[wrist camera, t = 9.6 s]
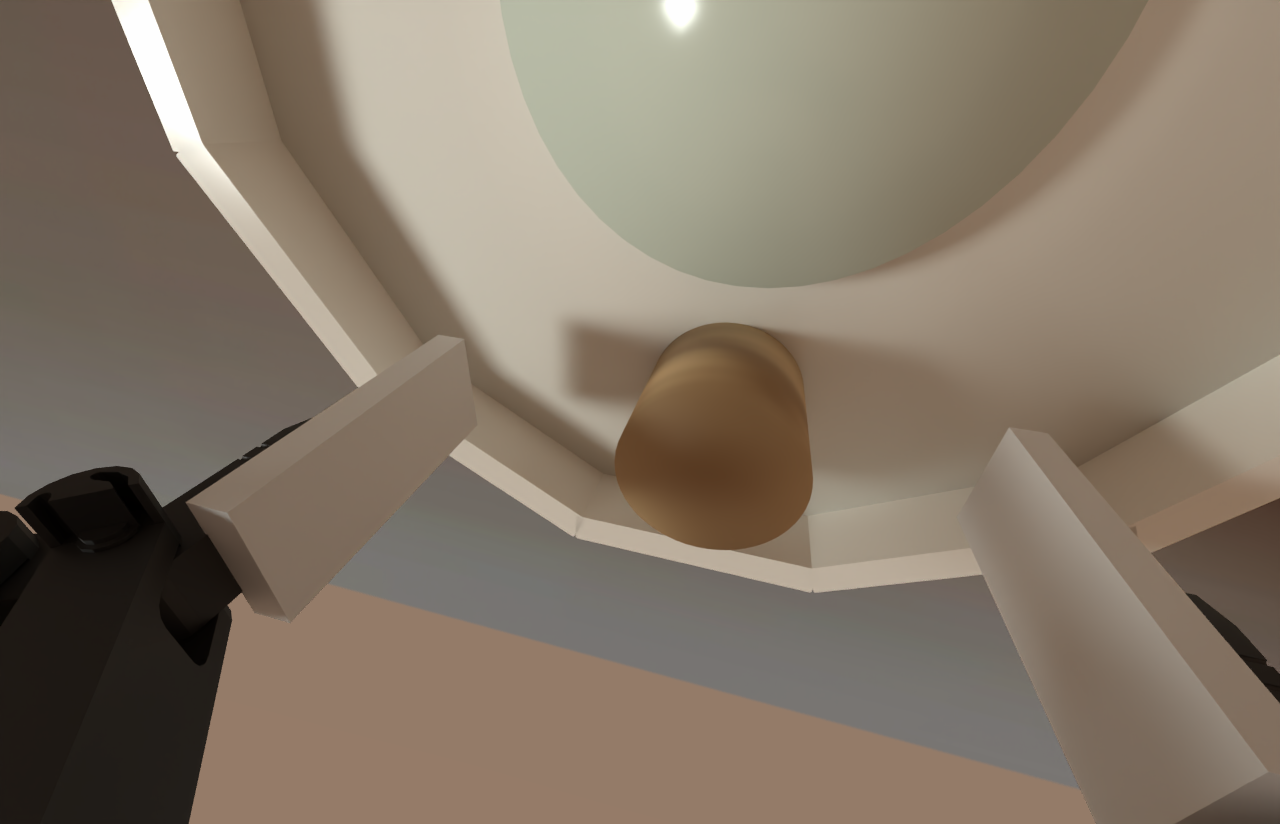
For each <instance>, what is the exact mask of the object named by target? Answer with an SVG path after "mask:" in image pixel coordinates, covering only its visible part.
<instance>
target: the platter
mask: <svg viewBox="0 0 1280 824" xmlns="http://www.w3.org/2000/svg"><path fill="white" fill-rule="evenodd" d="M112 3H113V5H114V8H115V10H116V12H117V15H118V17H119V20H120V22H121V25H122V27H123V30H124V32H125V34H126V37H127V39H128V42H129V44H130V47H131V49H132V52H133V54H134V56H135V59H136V61H137V64H138V66H139V69H140V71H141V74H142V76H143V78H144V81H145V83H146V86H147V88H148V91H149V93H150V96H151V98H152V100H153V103H154V105H155V108H156V110H157V113H158V115H159V117H160V120H161V122H162V125H163V127H164V130H165V132H166V135H167V137H168V139H169V142H170V144H171V147H172V149H173V151H178V152H179V153H178V154H177V155H176V156H177V158H178V159H179V160H180V161H181V163H182V164H183V165H184V166H185V168H186V169H187V170H188V172H189V173H190V174H191V175H192V177H193V178H194V179H195V180H196V182H197V183H198V184H199V186H200V187H201V188H202V189H203V191H204V192H205V193H206V194H207V196H208V197H209V198H210V200H211V201H212V202H213V203H214V205H215V206H216V207H217V208H218V210H219V211H220V212H221V214H222V215H223V216H224V217H225V219H226V220H227V221H228V222H229V224H230V225H231V226H232V228H233V229H234V230H235V231H236V233H237V234H238V235H239V236H240V238H241V239H242V240H243V242H244V243H245V244H246V245H247V247H248V248H249V249H250V250H251V252H252V253H253V254H254V256H255V257H256V258H257V259H258V261H259V262H260V263H261V264H262V266H263V267H264V268H265V270H266V271H267V272H268V273H269V275H270V276H271V277H272V278H273V280H274V281H275V282H276V284H277V285H278V286H279V287H280V289H281V290H282V291H283V292H284V294H285V295H286V296H287V298H288V299H289V300H290V301H291V303H292V304H293V305H294V306H295V308H296V309H297V310H298V312H299V313H300V314H301V315H302V317H303V318H304V319H305V320H306V322H307V323H308V324H309V326H310V327H311V328H312V329H313V331H314V332H315V333H316V334H317V336H318V337H319V338H320V340H321V341H322V342H323V343H324V345H325V346H326V347H327V348H328V350H329V351H330V352H331V354H332V355H333V356H334V357H335V359H336V360H337V361H338V362H339V364H340V365H341V366H342V368H343V369H344V370H345V371H346V373H347V374H348V375H349V376H350V378H351V379H352V380H353V382H354V383H355V384H356V385H357V387H358V388H359V387H360V386H362V385H363V384H365V383H366V382H368V381H369V380H371V379H372V378H374V377H375V376H377V375H378V374H380V373H381V372H383V371H384V370H386V369H387V368H389V367H390V366H392V365H393V364H395V363H396V362H398V361H399V360H401V359H403V358H404V357H406V356H407V355H409V354H410V353H412V352H413V351H415V350H416V349H418V348H419V347H421V346H422V345H424V344H425V343H427V342H428V341H430V340H431V339H433V338H434V337H436V336H437V335H442V336H448V337H455V338H461V339H464V340H465V347H466V353H467V360H468V366H469V373H470V379H471V386H472V392H473V399H474V405H475V411H476V418H477V424H478V425H477V426H476V427H475V428H474V429H473V430H472V431H471V432H470V433H469V435H468V436H467V437H466V438H465V439H464V440H463V441H462V442H461V443H460V444H459V445H458V446H457V447H456V448H455V449H454V450H453V451H452V453H451V454H450V455H449V456H451V457H452V458H454V459H455V460H457V461H458V462H460V463H462V464H463V465H465V466H466V467H468V468H469V469H471V470H472V471H474V472H475V473H477V474H478V475H480V476H481V477H483V478H484V479H486V480H487V481H489V482H490V483H492V484H494V485H495V486H497V487H498V488H500V489H501V490H503V491H504V492H506V493H507V494H509V495H510V496H512V497H513V498H515V499H516V500H518V501H519V502H521V503H523V504H524V505H526V506H527V507H529V508H530V509H532V510H533V511H535V512H536V513H538V514H539V515H541V516H542V517H544V518H545V519H547V520H548V521H550V522H552V523H553V524H555V525H556V526H558V527H559V528H561V529H562V530H564V531H565V532H567V533H568V534H570V535H571V536H574V535H575V534H576V538H579V539H583V540H587V541H591V542H596V543H600V544H604V545H609V546H613V547H617V548H621V549H626V550H630V551H634V552H639V553H643V554H647V555H652V556H656V557H660V558H664V559H669V560H673V561H677V562H682V563H686V564H690V565H694V566H699V567H703V568H707V569H712V570H716V571H720V572H724V573H729V574H733V575H737V576H742V577H746V578H750V579H755V580H759V581H763V582H767V583H772V584H776V585H780V586H785V587H789V588H793V589H797V590H802V591H806V592H810V593H811V591H812V589H813V591H814V593H817V592H827V591H836V590H845V589H854V588H863V587H872V586H882V585H891V584H900V583H909V582H918V581H927V580H936V579H946V578H955V577H964V576H973V575H982V572H981V570H980V567H979V565H978V563H977V561H976V559H975V556H974V554H973V552H972V550H971V548H970V545H969V543H968V541H967V539H966V537H965V534H964V532H963V530H962V528H961V526H960V523H959V521H958V519H957V516H958V514H959V513H960V511H961V509H962V507H963V506H964V504H965V502H966V500H967V499H968V497H969V495H970V494H971V492H972V490H973V488H974V487H975V485H976V483H977V482H978V480H979V478H980V476H981V475H982V473H983V471H984V470H985V468H986V466H987V464H988V463H989V461H990V459H991V458H992V456H993V454H994V452H995V451H996V449H997V447H998V445H999V444H1000V442H1001V440H1002V439H1003V437H1004V435H1005V433H1006V432H1007V430H1008V428H1009V427H1012V428H1018V429H1024V430H1031V431H1037V432H1043V433H1048V434H1049V435H1050V436H1051V437H1052V439H1053V440H1054V441H1055V442H1056V443H1057V444H1058V446H1059V447H1060V448H1061V449H1062V450H1063V451H1064V453H1065V454H1066V455H1067V456H1068V457H1069V458H1070V460H1071V461H1072V462H1073V463H1074V464H1075V465H1076V467H1077V468H1078V469H1079V470H1080V471H1081V472H1082V474H1083V475H1084V476H1085V477H1086V478H1087V479H1088V481H1089V482H1090V483H1091V484H1092V485H1093V486H1094V488H1095V489H1096V490H1097V491H1098V492H1099V493H1100V495H1101V496H1102V497H1103V498H1104V499H1105V500H1106V501H1107V503H1108V504H1109V505H1110V506H1111V507H1112V508H1113V510H1114V511H1115V512H1116V513H1117V514H1118V515H1119V517H1120V518H1121V519H1122V520H1123V521H1124V522H1125V524H1126V525H1127V526H1128V527H1129V528H1130V529H1131V531H1132V532H1133V533H1134V534H1135V535H1136V536H1137V538H1138V539H1139V540H1140V541H1141V542H1142V543H1143V545H1144V546H1145V547H1146V548H1147V549H1148V550H1149V552H1150V553H1152V552H1154V551H1157V550H1159V549H1161V548H1164V547H1166V546H1168V545H1171V544H1173V543H1175V542H1178V541H1180V540H1182V539H1185V538H1187V537H1190V536H1192V535H1194V534H1197V533H1199V532H1201V531H1204V530H1206V529H1208V528H1211V527H1213V526H1215V525H1218V524H1220V523H1222V522H1225V521H1227V520H1229V519H1232V518H1234V517H1236V516H1239V515H1241V514H1243V513H1246V512H1248V511H1250V510H1253V509H1255V508H1258V507H1260V506H1262V505H1265V504H1267V503H1269V502H1272V501H1274V500H1276V499H1279V498H1280V0H112ZM724 322H728V323H739V324H743V325H748V326H751V327H754V328H757V329H759V330H762V331H764V332H766V333H768V334H769V335H771V336H772V337H774V338H775V339H777V340H778V341H779V342H780V343H781V344H783V345H784V346H785V347H786V348H787V350H788V351H789V352H790V353H791V354H792V356H793V357H794V359H795V361H796V362H797V364H798V366H799V369H800V371H801V375H802V378H803V384H804V393H805V403H806V413H807V423H808V432H809V442H810V452H811V462H812V472H813V489H812V494H811V498H810V501H809V503H808V505H807V508H806V510H805V511H804V513H803V514H802V516H801V517H800V519H799V520H798V521H797V522H796V523H795V524H794V525H793V526H792V527H791V528H790V529H789V530H787V531H786V532H785V533H783V534H782V535H780V536H778V537H777V538H775V539H773V540H771V541H769V542H766V543H764V544H761V545H758V546H754V547H750V548H745V549H737V550H713V549H705V548H699V547H695V546H691V545H687V544H684V543H682V542H679V541H676V540H674V539H672V538H670V537H668V536H666V535H664V534H662V533H660V532H659V531H657V530H655V529H654V528H653V527H651V526H650V525H649V524H647V523H646V522H645V521H644V520H643V519H642V518H640V517H639V516H638V515H637V514H636V512H635V511H634V510H633V509H632V508H631V507H630V505H629V504H628V502H627V501H626V499H625V498H624V496H623V494H622V492H621V490H620V487H619V485H618V482H617V478H616V473H615V452H616V448H617V444H618V441H619V439H620V437H621V435H622V433H623V431H624V428H625V426H626V424H627V422H628V420H629V418H630V416H631V414H632V412H633V410H634V408H635V406H636V404H637V402H638V400H639V398H640V396H641V394H642V392H643V390H644V388H645V386H646V384H647V382H648V380H649V378H650V376H651V373H652V371H653V369H654V367H655V365H656V363H657V361H658V359H659V357H660V356H661V354H662V353H663V351H664V350H665V349H666V348H667V347H668V345H669V344H670V343H671V342H673V341H674V340H675V339H676V338H677V337H679V336H680V335H682V334H684V333H685V332H687V331H689V330H691V329H694V328H696V327H699V326H703V325H706V324H712V323H724Z"/></svg>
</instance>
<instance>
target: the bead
mask: <svg viewBox="0 0 1280 824" xmlns="http://www.w3.org/2000/svg"><path fill="white" fill-rule="evenodd" d="M615 473H616V478H617V482H618V485H619V487H620V490H621V492H622V494H623V496H624V498H625V499H626V501H627V502H628V504H629V505H630V507H631V508H632V509H633V510H634V511H635V512H636V514H637V515H638V516H639V517H640V518H642V519H643V520H644V521H645V522H646V523H647V524H649V525H650V526H651V527H653V528H654V529H655V530H657V531H659V532H660V533H662V534H664V535H666V536H668V537H670V538H672V539H674V540H676V541H679V542H682V543H684V544H687V545H691V546H695V547H699V548H705V549H713V550H737V549H745V548H750V547H754V546H758V545H761V544H764V543H766V542H769V541H771V540H773V539H775V538H777V537H778V536H780V535H782V534H783V533H785V532H786V531H787V530H789V529H790V528H791V527H792V526H793V525H794V524H795V523H796V522H797V521H798V520H799V519H800V517H801V516H802V514H803V513H804V511H805V510H806V508H807V505H808V503H809V501H810V498H811V494H812V489H813V472H812V462H811V452H810V442H809V432H808V423H807V413H806V403H805V393H804V384H803V378H802V375H801V371H800V369H799V366H798V364H797V362H796V361H795V359H794V357H793V356H792V354H791V353H790V352H789V351H788V350H787V348H786V347H785V346H784V345H783V344H781V343H780V342H779V341H778V340H777V339H775V338H774V337H772V336H771V335H769V334H768V333H766V332H764V331H762V330H759V329H757V328H754V327H751V326H748V325H743V324H739V323H728V322H724V323H712V324H706V325H703V326H699V327H696V328H694V329H691V330H689V331H687V332H685V333H684V334H682V335H680V336H679V337H677V338H676V339H675V340H674V341H673V342H671V343H670V344H669V345H668V347H667V348H666V349H665V350H664V351H663V353H662V354H661V356H660V357H659V359H658V361H657V363H656V365H655V367H654V369H653V371H652V373H651V376H650V378H649V380H648V382H647V384H646V386H645V388H644V390H643V392H642V394H641V396H640V398H639V400H638V402H637V404H636V406H635V408H634V410H633V412H632V414H631V416H630V418H629V420H628V422H627V424H626V426H625V428H624V431H623V433H622V435H621V437H620V439H619V441H618V444H617V448H616V452H615Z"/></svg>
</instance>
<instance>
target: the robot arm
mask: <svg viewBox="0 0 1280 824" xmlns="http://www.w3.org/2000/svg"><path fill="white" fill-rule="evenodd" d="M477 425H478V424H477V418H476V411H475V405H474V399H473V392H472V386H471V379H470V373H469V366H468V360H467V353H466V347H465V340H464V339H461V338H455V337H448V336H442V335H437V336H436V337H434V338H433V339H431V340H430V341H428V342H427V343H425V344H424V345H422V346H421V347H419V348H418V349H416V350H415V351H413V352H412V353H410V354H409V355H407V356H406V357H404V358H403V359H401V360H399V361H398V362H396V363H395V364H393V365H392V366H390V367H389V368H387V369H386V370H384V371H383V372H381V373H380V374H378V375H377V376H375V377H374V378H372V379H371V380H369V381H368V382H366V383H365V384H363V385H362V386H360V387H359V388H357V389H356V390H354V391H353V392H351V393H350V394H348V395H347V396H345V397H344V398H342V399H341V400H339V401H338V402H336V403H335V404H333V405H332V406H330V407H329V408H327V409H326V410H324V411H323V412H321V413H320V414H318V415H317V416H315V417H314V418H310V419H308V420H305V421H303V422H300V423H298V424H295V425H293V426H290V427H288V428H285V429H283V430H282V431H280V432H279V433H277V434H276V435H274V436H273V437H271V438H270V439H268V440H266V441H265V442H263V443H262V444H261V447H256V448H254V449H253V450H251V451H249V452H248V453H246V454H245V455H243V456H242V457H243V458H242V459H241V460H239V459H237V460H236V461H234V462H232V463H231V464H229V465H228V466H226V467H225V468H223V469H222V470H220V471H219V472H217V473H215V474H214V475H212V476H211V477H209V478H208V479H206V480H205V481H203V482H202V483H200V484H198V485H197V486H195V487H194V488H192V489H191V490H189V491H188V492H186V493H185V494H183V495H181V496H180V497H178V498H177V499H175V500H174V501H172V502H171V503H169V504H168V505H166V506H164V507H161V505H160V504H159V502H158V501H157V499H156V498H155V496H154V495H153V493H152V492H151V490H150V489H149V487H148V486H147V484H146V483H145V481H144V480H143V478H142V477H141V475H140V474H139V473H138V472H136V471H135V470H134V469H132V468H127V467H120V466H114V467H104V468H96V469H92V470H88V471H84V472H80V473H76V474H72V475H70V476H67V477H65V478H62V479H60V480H57V481H55V482H52V483H50V484H48V485H46V486H44V487H43V488H41V489H39V490H37V491H36V492H34V493H32V494H30V495H29V496H27V497H26V498H25V499H24V500H23V501H22V502H21V503H20V504H18V505H17V506H16V507H15V509H16V510H17V511H18V513H19V514H20V515H21V516H22V517H23V518H24V519H25V520H26V521H27V523H28V524H29V525H30V526H31V527H32V528H33V529H34V530H35V532H36V533H37V534H33V533H32V532H31V531H30V530H29V529H28V528H27V527H26V525H25V524H24V523H23V522H22V521H21V520H20V519H19V518H18V517H17V516H16V515H14V514H12V513H10V512H8V511H0V824H189V819H190V815H191V810H192V805H193V800H194V795H195V791H196V786H197V781H198V777H199V772H200V768H201V763H202V758H203V753H204V749H205V744H206V740H207V735H208V730H209V725H210V720H211V716H212V711H213V707H214V702H215V697H216V692H217V688H218V683H219V679H220V674H221V669H222V665H223V660H224V655H225V650H226V646H227V641H228V636H229V632H230V627H231V622H232V617H231V610H230V609H229V607H228V606H227V605H228V604H229V603H230V602H231V601H232V600H233V599H235V598H236V597H237V596H238V595H239V594H240V593H241V592H242V593H243V595H244V596H245V598H246V600H247V601H248V603H249V604H250V606H251V608H252V609H253V611H254V612H255V613H257V614H261V615H264V616H268V617H271V618H274V619H278V620H281V621H285V622H288V623H291V622H292V621H293V619H294V618H295V617H296V616H297V615H298V614H299V613H300V612H301V611H302V610H303V609H304V608H305V607H306V606H307V605H308V604H309V603H310V601H311V600H312V599H313V598H314V597H315V596H316V595H317V594H318V593H319V592H320V591H321V590H322V589H323V588H324V587H325V586H326V585H327V584H328V583H329V581H330V580H331V579H332V578H333V577H334V576H335V575H336V574H337V573H338V572H339V571H340V570H341V569H342V568H343V567H344V566H345V565H346V563H347V562H348V561H349V560H350V559H351V558H352V557H353V556H354V555H355V554H356V553H357V552H358V551H359V550H360V549H361V548H362V547H363V546H364V544H365V543H366V542H367V541H368V540H369V539H370V538H371V537H372V536H373V535H374V534H375V533H376V532H377V531H378V530H379V529H380V528H381V526H382V525H383V524H384V523H385V522H386V521H387V520H388V519H389V518H390V517H391V516H392V515H393V514H394V513H395V512H396V511H397V510H398V509H399V507H400V506H401V505H402V504H403V503H404V502H405V501H406V500H407V499H408V498H409V497H410V496H411V495H412V494H413V493H414V492H415V491H416V490H417V488H418V487H419V486H420V485H421V484H422V483H423V482H424V481H425V480H426V479H427V478H428V477H429V476H430V475H431V474H432V473H433V472H434V470H435V469H436V468H437V467H438V466H439V465H440V464H441V463H442V462H443V461H444V460H445V459H446V458H447V457H448V456H449V455H450V454H451V453H452V451H453V450H454V449H455V448H456V447H457V446H458V445H459V444H460V443H461V442H462V441H463V440H464V439H465V438H466V437H467V436H468V435H469V433H470V432H471V431H472V430H473V429H474V428H475V427H476V426H477ZM957 519H958V521H959V523H960V526H961V528H962V530H963V532H964V534H965V537H966V539H967V541H968V543H969V545H970V548H971V550H972V552H973V554H974V556H975V559H976V561H977V563H978V565H979V567H980V570H981V572H982V574H983V576H984V578H985V581H986V583H987V585H988V587H989V589H990V592H991V594H992V596H993V598H994V600H995V603H996V605H997V607H998V609H999V611H1000V614H1001V616H1002V618H1003V620H1004V622H1005V625H1006V627H1007V629H1008V631H1009V633H1010V636H1011V638H1012V640H1013V642H1014V644H1015V647H1016V649H1017V651H1018V653H1019V655H1020V658H1021V660H1022V662H1023V664H1024V667H1025V669H1026V671H1027V673H1028V675H1029V678H1030V680H1031V682H1032V684H1033V686H1034V689H1035V691H1036V693H1037V695H1038V697H1039V700H1040V702H1041V704H1042V706H1043V708H1044V711H1045V713H1046V715H1047V717H1048V719H1049V722H1050V724H1051V726H1052V728H1053V730H1054V733H1055V735H1056V737H1057V739H1058V741H1059V744H1060V746H1061V748H1062V750H1063V752H1064V755H1065V757H1066V759H1067V761H1068V763H1069V766H1070V768H1071V770H1072V772H1073V774H1074V777H1075V779H1076V781H1077V783H1078V785H1079V788H1080V790H1081V792H1082V794H1083V796H1084V798H1085V801H1086V803H1087V805H1088V807H1089V810H1090V812H1091V814H1092V816H1093V818H1094V820H1095V823H1096V824H1280V674H1279V673H1278V672H1277V671H1276V670H1275V669H1274V667H1270V666H1267V664H1266V661H1267V660H1266V659H1265V657H1264V656H1263V655H1262V654H1261V653H1260V652H1259V651H1258V650H1257V649H1256V647H1255V646H1254V645H1253V644H1252V643H1251V642H1250V641H1249V640H1248V639H1247V638H1246V636H1245V635H1244V634H1243V633H1242V632H1241V631H1240V630H1239V629H1238V628H1237V626H1235V625H1234V624H1233V623H1231V622H1230V621H1229V620H1228V619H1226V618H1225V617H1224V616H1222V615H1221V614H1220V613H1219V612H1217V611H1216V610H1215V609H1213V608H1212V607H1211V606H1210V605H1208V604H1207V603H1206V602H1204V601H1203V600H1202V599H1201V598H1199V597H1198V596H1197V595H1193V594H1188V593H1185V592H1184V591H1183V590H1182V589H1181V588H1180V587H1179V585H1178V584H1177V583H1176V582H1175V581H1174V580H1173V578H1172V577H1171V576H1170V575H1169V574H1168V573H1167V571H1166V570H1165V569H1164V568H1163V567H1162V566H1161V564H1160V563H1159V562H1158V561H1157V560H1156V559H1155V557H1154V556H1153V555H1152V554H1151V553H1150V552H1149V550H1148V549H1147V548H1146V547H1145V546H1144V545H1143V543H1142V542H1141V541H1140V540H1139V539H1138V538H1137V536H1136V535H1135V534H1134V533H1133V532H1132V531H1131V529H1130V528H1129V527H1128V526H1127V525H1126V524H1125V522H1124V521H1123V520H1122V519H1121V518H1120V517H1119V515H1118V514H1117V513H1116V512H1115V511H1114V510H1113V508H1112V507H1111V506H1110V505H1109V504H1108V503H1107V501H1106V500H1105V499H1104V498H1103V497H1102V496H1101V495H1100V493H1099V492H1098V491H1097V490H1096V489H1095V488H1094V486H1093V485H1092V484H1091V483H1090V482H1089V481H1088V479H1087V478H1086V477H1085V476H1084V475H1083V474H1082V472H1081V471H1080V470H1079V469H1078V468H1077V467H1076V465H1075V464H1074V463H1073V462H1072V461H1071V460H1070V458H1069V457H1068V456H1067V455H1066V454H1065V453H1064V451H1063V450H1062V449H1061V448H1060V447H1059V446H1058V444H1057V443H1056V442H1055V441H1054V440H1053V439H1052V437H1051V436H1050V435H1049V434H1048V433H1043V432H1037V431H1031V430H1024V429H1018V428H1012V427H1009V428H1008V430H1007V432H1006V433H1005V435H1004V437H1003V439H1002V440H1001V442H1000V444H999V445H998V447H997V449H996V451H995V452H994V454H993V456H992V458H991V459H990V461H989V463H988V464H987V466H986V468H985V470H984V471H983V473H982V475H981V476H980V478H979V480H978V482H977V483H976V485H975V487H974V488H973V490H972V492H971V494H970V495H969V497H968V499H967V500H966V502H965V504H964V506H963V507H962V509H961V511H960V513H959V514H958V516H957Z"/></svg>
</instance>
